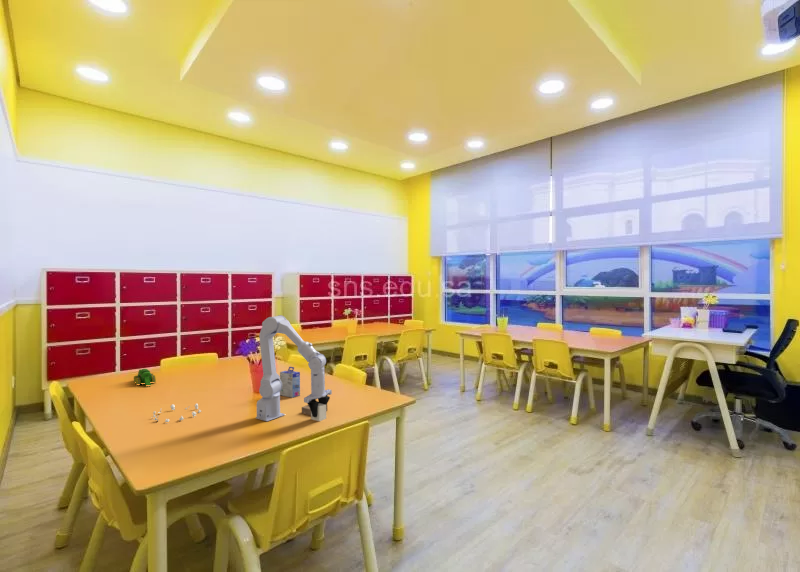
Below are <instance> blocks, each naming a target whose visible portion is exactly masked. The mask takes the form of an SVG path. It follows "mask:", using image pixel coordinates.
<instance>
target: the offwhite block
mask: <svg viewBox="0 0 800 572" xmlns="http://www.w3.org/2000/svg"><path fill="white" fill-rule="evenodd" d="M326 419H327V411H326V404H321V403H319V404H318V410H317V417H313V416H312V413H311V415H310V420H313V421H317V422H321V421H324V420H326Z"/></svg>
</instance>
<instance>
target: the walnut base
mask: <svg viewBox="0 0 800 572" xmlns="http://www.w3.org/2000/svg"><path fill="white" fill-rule="evenodd" d="M326 412H328V405H327V406H326ZM301 414H304V415H309V416H311V410H310V407H309V405H308V404H307V405H304V406H301Z"/></svg>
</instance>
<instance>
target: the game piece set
mask: <svg viewBox="0 0 800 572" xmlns="http://www.w3.org/2000/svg"><path fill="white" fill-rule="evenodd" d="M190 407H191V406H190V405H188V407H185V408H184V410H188V409H189V408H190ZM194 407H195V410H196V409H197V410H198V411H197V412H196V411H192V412H191V415H192V416H193V417H192V418H195V417H194V416H196V417H197V413H198V414H200V412H201V413H202V410H201V409H200V408H199V404H198V403H195V405H194ZM187 408H188V409H187ZM170 410H171V411H172V410H174V411H175V410H176V406H175V404H174V403H173V404H171V405H170ZM156 412H157V411H155V410H154V411H153V412H152V414H153V416H151V417H150V419H152V417H153V418H154V417H155V419H153V421H155V420H157V421H158V422H159V415H156ZM158 413H162V409H160V410H159V411H158V412H157V414H158ZM156 416H157V418H156ZM184 419H185V418H184V417H183V415H181V416H180V417H179V419H178V421H181V420H182V421H183V420H184ZM169 421H170V418H165V420H164V423H165V422H169Z"/></svg>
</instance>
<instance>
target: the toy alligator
mask: <svg viewBox="0 0 800 572" xmlns="http://www.w3.org/2000/svg"><path fill="white" fill-rule="evenodd" d="M134 382H136V384H141V383H145V384H146V385H151V386H152V383H150V382H155V383H156V375H155V374H154V373H151V371H150V370H149V369H148V368H141V369H138V373H137V375H134V376H133V383H134ZM136 384H135V385H136Z"/></svg>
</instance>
